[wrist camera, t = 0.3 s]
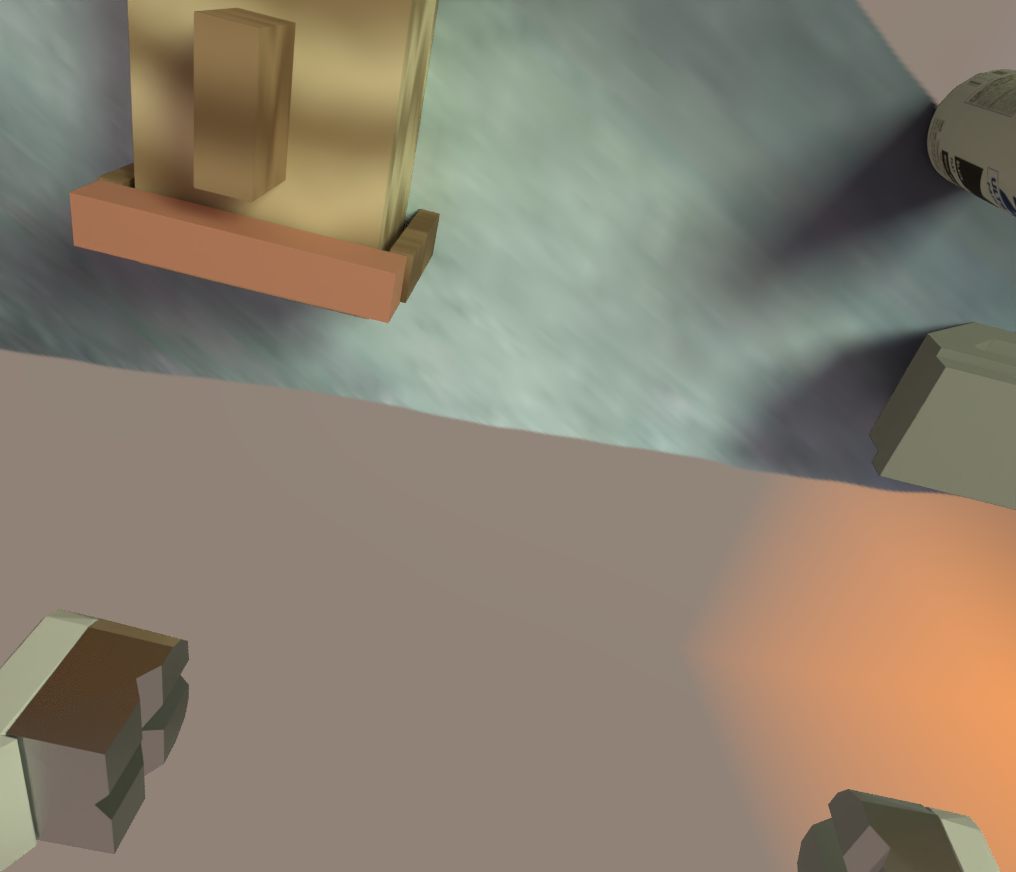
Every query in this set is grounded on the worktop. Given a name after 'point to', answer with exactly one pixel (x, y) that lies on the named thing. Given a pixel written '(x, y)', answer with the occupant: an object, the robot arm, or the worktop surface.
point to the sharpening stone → (954, 416)
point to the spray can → (978, 138)
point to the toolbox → (424, 224)
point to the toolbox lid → (272, 108)
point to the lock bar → (237, 249)
